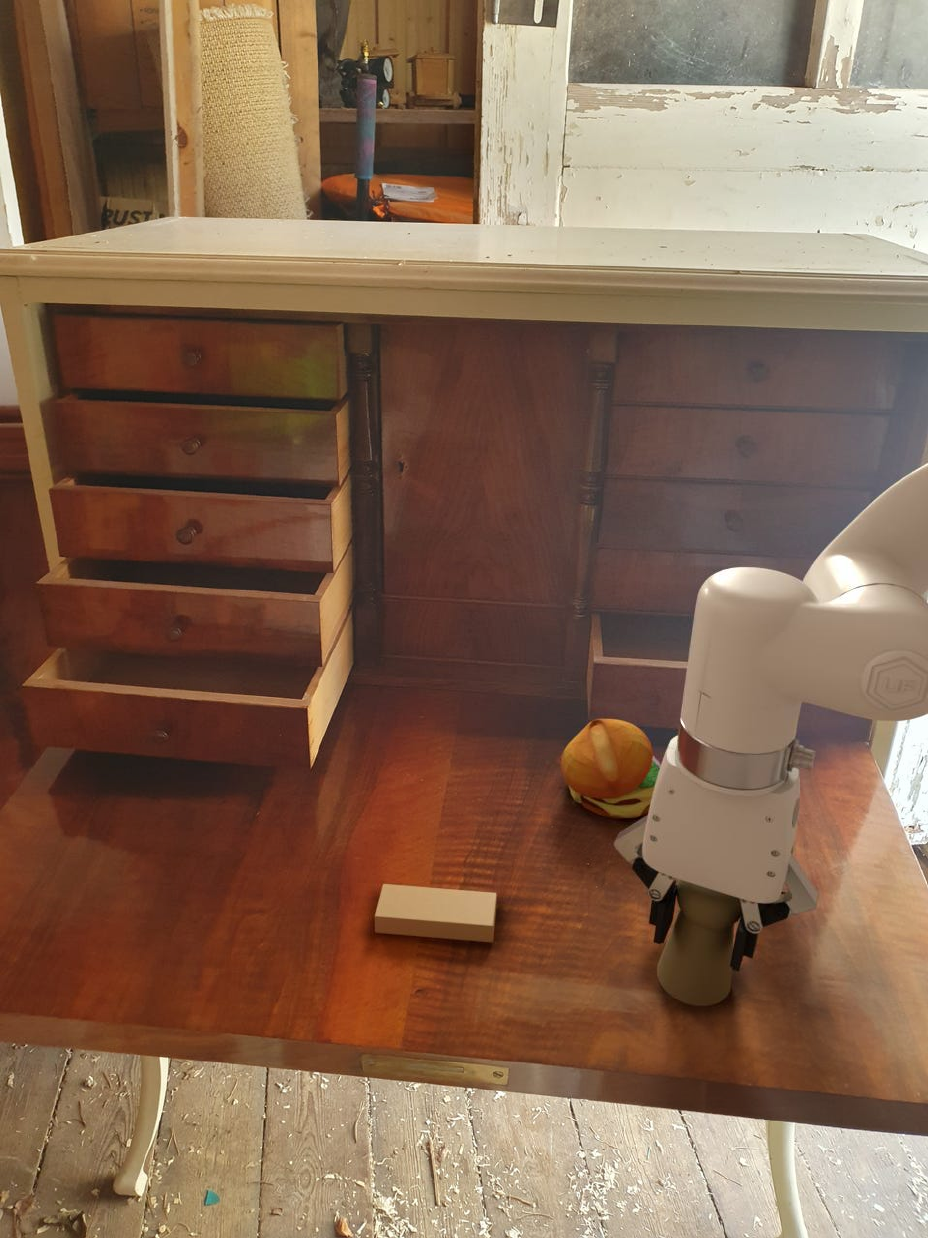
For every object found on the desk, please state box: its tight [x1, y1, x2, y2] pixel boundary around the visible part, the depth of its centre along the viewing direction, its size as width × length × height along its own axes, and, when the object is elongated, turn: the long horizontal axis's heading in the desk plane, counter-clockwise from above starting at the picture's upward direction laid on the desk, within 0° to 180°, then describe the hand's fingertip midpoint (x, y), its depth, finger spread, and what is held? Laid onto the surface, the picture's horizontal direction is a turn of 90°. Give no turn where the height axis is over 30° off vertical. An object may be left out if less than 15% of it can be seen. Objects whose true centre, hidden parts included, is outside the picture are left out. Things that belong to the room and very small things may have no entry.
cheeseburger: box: [557, 718, 662, 820], centre depth 98 cm, size 10×11×10 cm
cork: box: [656, 879, 742, 1007], centre depth 75 cm, size 6×6×11 cm
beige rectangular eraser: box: [374, 883, 498, 943], centre depth 83 cm, size 10×4×2 cm, turn 84°
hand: (700, 943), depth 74 cm, fingers closed on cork, 5 cm apart
